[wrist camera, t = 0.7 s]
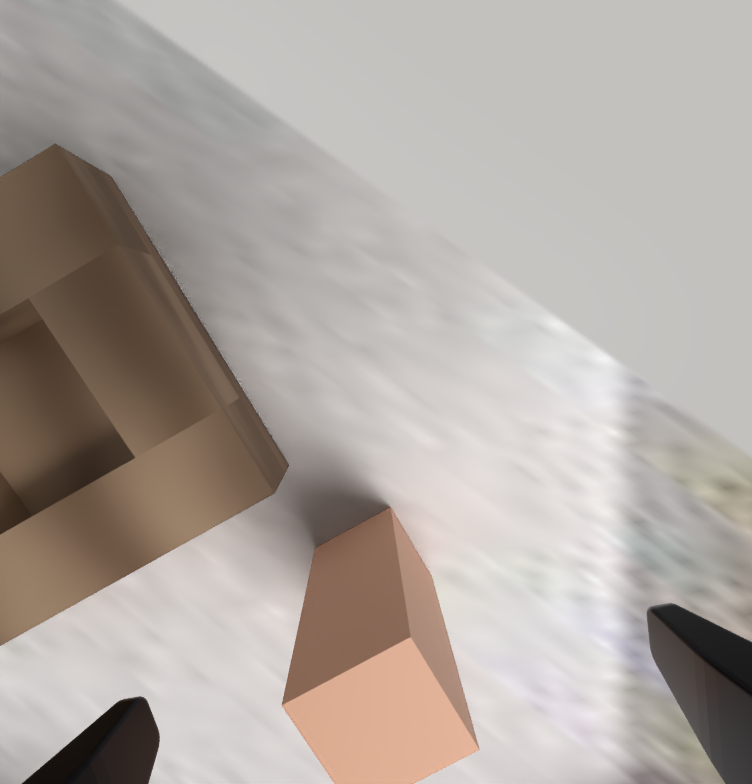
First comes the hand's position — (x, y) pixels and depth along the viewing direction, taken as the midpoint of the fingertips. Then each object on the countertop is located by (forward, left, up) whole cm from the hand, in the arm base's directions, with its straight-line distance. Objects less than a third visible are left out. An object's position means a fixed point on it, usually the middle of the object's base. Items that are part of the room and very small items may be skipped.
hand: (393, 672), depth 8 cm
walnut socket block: (-10, +9, -13) cm, 19 cm away
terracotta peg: (-2, -4, -13) cm, 14 cm away
